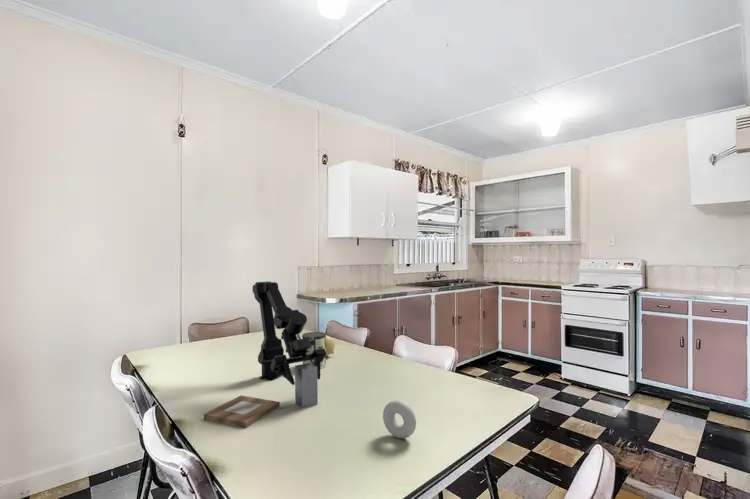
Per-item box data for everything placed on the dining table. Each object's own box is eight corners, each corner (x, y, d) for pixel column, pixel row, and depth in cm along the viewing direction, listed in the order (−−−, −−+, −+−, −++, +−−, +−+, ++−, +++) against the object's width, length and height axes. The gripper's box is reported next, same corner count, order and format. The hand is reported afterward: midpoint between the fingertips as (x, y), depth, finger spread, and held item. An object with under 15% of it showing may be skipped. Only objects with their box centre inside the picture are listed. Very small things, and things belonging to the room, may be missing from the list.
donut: (380, 435, 104) (380, 398, 104) (387, 430, 107) (386, 394, 107) (412, 445, 98) (412, 407, 98) (418, 440, 101) (418, 402, 101)
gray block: (295, 403, 127) (295, 365, 127) (310, 399, 130) (310, 362, 130) (302, 408, 122) (301, 369, 122) (317, 404, 125) (317, 366, 125)
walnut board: (203, 419, 115) (203, 413, 115) (240, 399, 130) (240, 395, 130) (246, 427, 109) (246, 422, 109) (279, 406, 124) (279, 401, 124)
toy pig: (323, 352, 190) (323, 331, 191) (338, 356, 182) (338, 334, 182) (307, 356, 184) (307, 334, 184) (322, 361, 175) (322, 338, 175)
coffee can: (309, 361, 174) (309, 331, 174) (329, 363, 170) (329, 332, 171) (297, 368, 164) (297, 336, 164) (319, 370, 161) (318, 337, 161)
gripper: (273, 332, 125) (286, 374, 116) (323, 325, 135) (339, 363, 126) (265, 351, 131) (277, 392, 122) (314, 343, 142) (328, 380, 133)
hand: (306, 381), depth 126 cm, fingers open, 9 cm apart
